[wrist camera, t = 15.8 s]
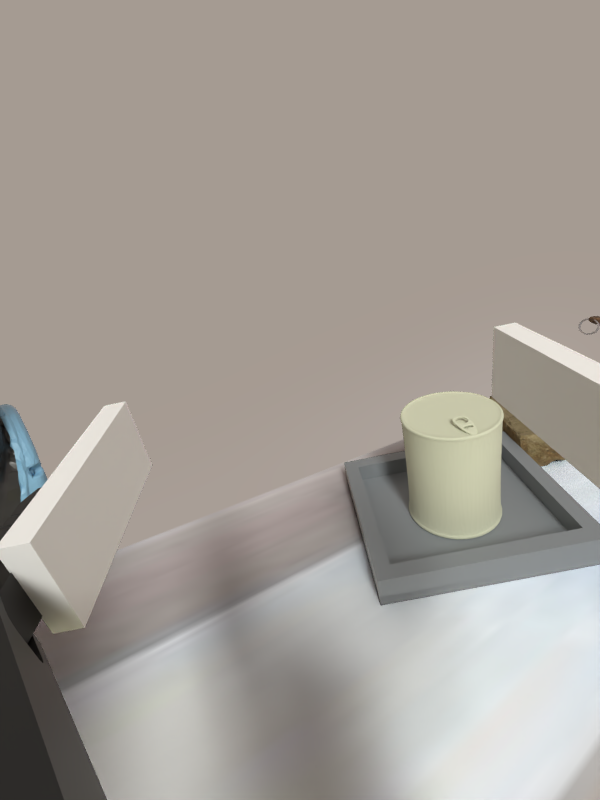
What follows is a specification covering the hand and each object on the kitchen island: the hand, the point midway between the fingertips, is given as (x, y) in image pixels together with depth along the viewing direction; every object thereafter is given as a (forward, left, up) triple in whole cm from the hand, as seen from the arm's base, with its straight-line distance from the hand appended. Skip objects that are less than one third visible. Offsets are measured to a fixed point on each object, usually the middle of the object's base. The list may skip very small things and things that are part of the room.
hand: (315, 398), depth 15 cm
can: (+12, +20, -26) cm, 35 cm away
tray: (+12, +20, -26) cm, 36 cm away
